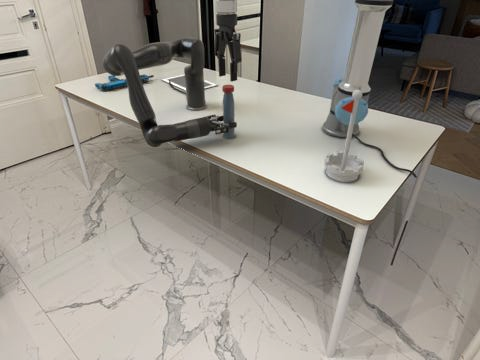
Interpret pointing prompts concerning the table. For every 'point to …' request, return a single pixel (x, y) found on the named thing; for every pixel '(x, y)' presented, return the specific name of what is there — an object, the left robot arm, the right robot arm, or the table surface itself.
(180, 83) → the tablet
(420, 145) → the table surface
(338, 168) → the flag stand
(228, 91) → the cap
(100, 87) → the submachine gun
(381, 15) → the right robot arm
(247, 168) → the table surface
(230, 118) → the bottle
